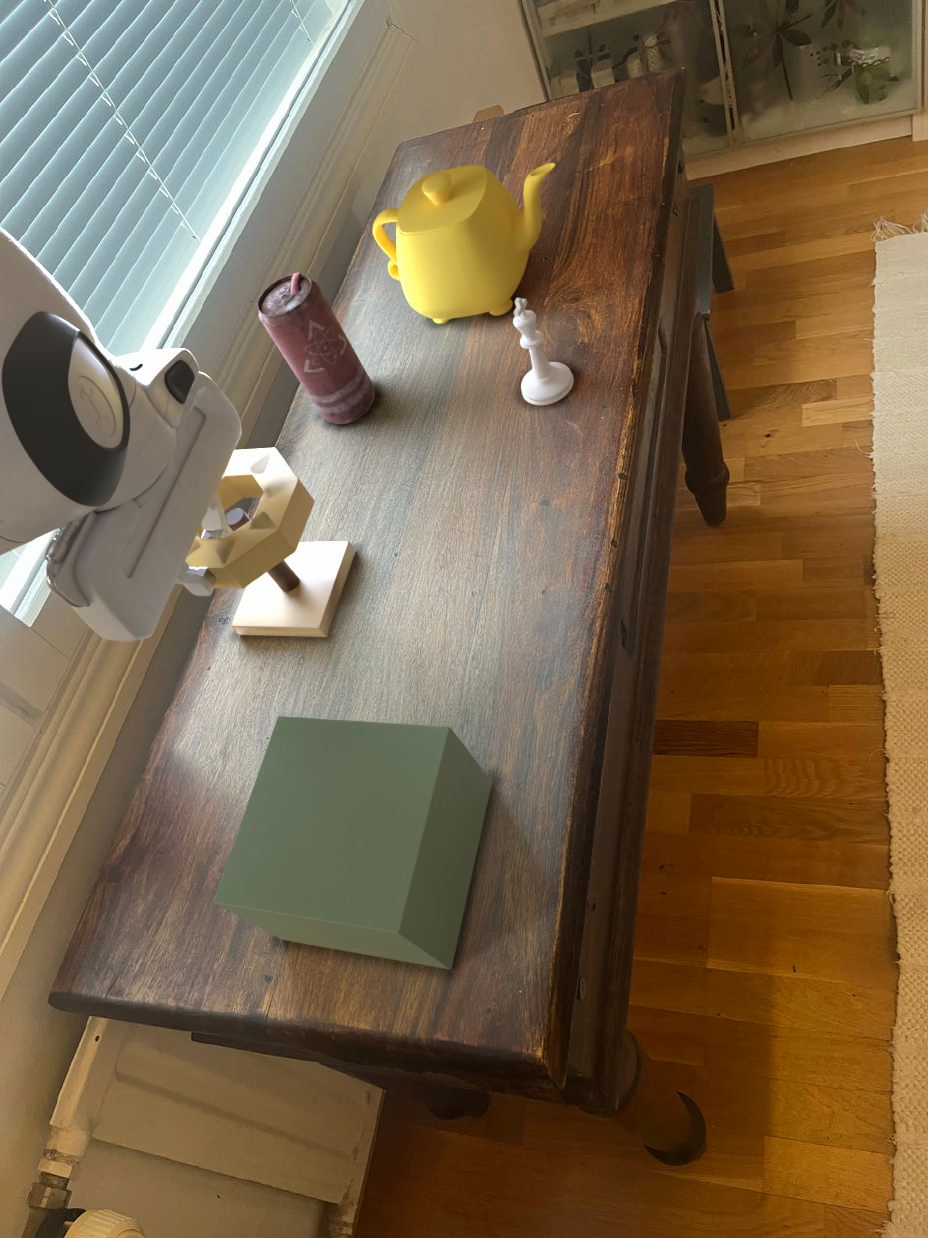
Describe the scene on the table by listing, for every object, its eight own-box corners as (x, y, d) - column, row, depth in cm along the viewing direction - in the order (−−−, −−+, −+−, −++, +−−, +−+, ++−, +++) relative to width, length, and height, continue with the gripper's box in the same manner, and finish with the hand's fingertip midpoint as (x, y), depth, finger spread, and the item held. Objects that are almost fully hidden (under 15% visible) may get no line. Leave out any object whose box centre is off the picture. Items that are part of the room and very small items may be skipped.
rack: (327, 637, 78) (262, 562, 70) (239, 635, 82) (167, 563, 73) (356, 550, 83) (299, 469, 74) (271, 552, 86) (207, 475, 78)
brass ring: (281, 589, 70) (263, 567, 67) (157, 588, 74) (136, 568, 72) (327, 468, 75) (312, 444, 73) (209, 474, 80) (191, 452, 78)
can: (383, 376, 95) (322, 263, 84) (369, 423, 91) (304, 311, 80) (331, 384, 97) (265, 274, 86) (315, 429, 94) (245, 321, 83)
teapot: (417, 259, 104) (371, 154, 94) (592, 229, 96) (562, 112, 86) (389, 346, 97) (336, 243, 87) (575, 321, 90) (541, 204, 80)
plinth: (451, 970, 60) (398, 933, 53) (281, 940, 65) (212, 902, 58) (492, 781, 66) (450, 726, 59) (334, 767, 71) (277, 715, 64)
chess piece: (582, 369, 86) (555, 280, 78) (560, 408, 84) (531, 322, 76) (535, 364, 88) (505, 278, 80) (513, 402, 86) (480, 318, 78)
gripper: (73, 575, 55) (202, 686, 66) (197, 332, 65) (291, 463, 75) (-4, 575, 57) (132, 682, 68) (126, 341, 67) (227, 467, 78)
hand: (216, 565), depth 72 cm, fingers closed on brass ring, 3 cm apart
